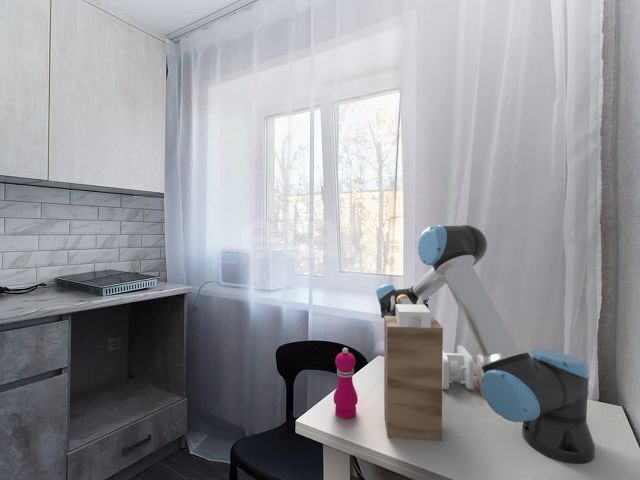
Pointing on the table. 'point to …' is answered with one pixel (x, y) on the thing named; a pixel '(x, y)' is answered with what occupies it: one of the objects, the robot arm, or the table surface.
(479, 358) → the ink cartridge box
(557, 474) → the table surface
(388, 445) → the table surface
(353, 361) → the pepper mill
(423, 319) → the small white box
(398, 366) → the walnut stand
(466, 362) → the cable organizer
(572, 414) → the robot arm
